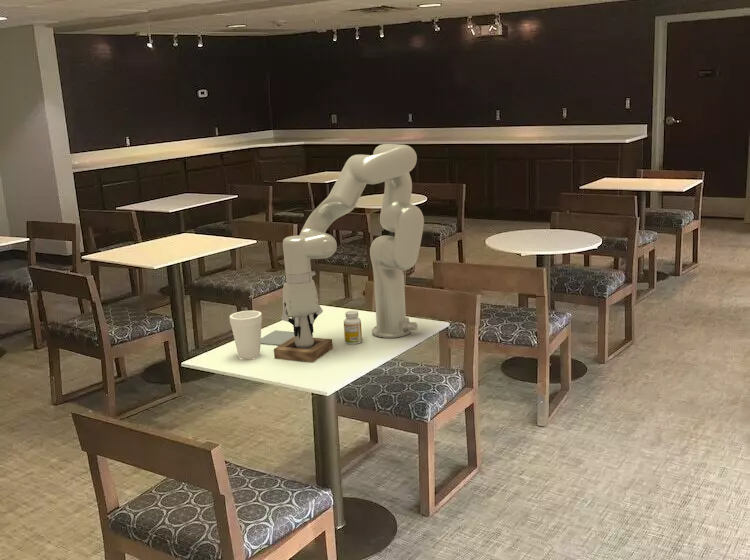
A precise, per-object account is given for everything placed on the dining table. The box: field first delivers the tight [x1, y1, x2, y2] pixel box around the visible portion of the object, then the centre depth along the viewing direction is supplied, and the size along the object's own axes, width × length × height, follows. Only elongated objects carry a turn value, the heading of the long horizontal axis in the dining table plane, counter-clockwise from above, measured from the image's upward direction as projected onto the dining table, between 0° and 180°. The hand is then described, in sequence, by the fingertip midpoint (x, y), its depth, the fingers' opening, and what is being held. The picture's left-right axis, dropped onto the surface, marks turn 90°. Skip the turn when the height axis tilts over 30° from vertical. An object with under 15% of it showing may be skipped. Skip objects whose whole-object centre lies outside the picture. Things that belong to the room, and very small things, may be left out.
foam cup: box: [229, 310, 263, 360], centre depth 230 cm, size 10×9×13 cm
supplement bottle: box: [343, 310, 363, 345], centre depth 239 cm, size 5×5×10 cm
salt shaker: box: [295, 313, 314, 349], centre depth 230 cm, size 6×6×13 cm
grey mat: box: [261, 329, 295, 347], centre depth 247 cm, size 13×13×1 cm
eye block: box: [273, 336, 334, 363], centre depth 231 cm, size 13×13×3 cm
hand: (304, 336), depth 230 cm, fingers closed on salt shaker, 3 cm apart
